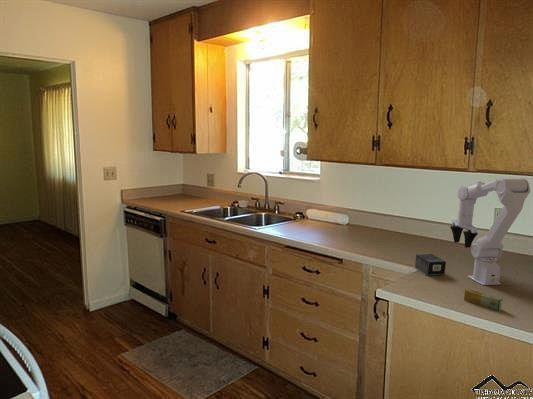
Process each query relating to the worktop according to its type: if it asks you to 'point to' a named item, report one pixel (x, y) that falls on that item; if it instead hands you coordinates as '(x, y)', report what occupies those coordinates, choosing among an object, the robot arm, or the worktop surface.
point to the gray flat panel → (425, 273)
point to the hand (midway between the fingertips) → (461, 244)
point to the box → (430, 264)
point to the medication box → (483, 300)
